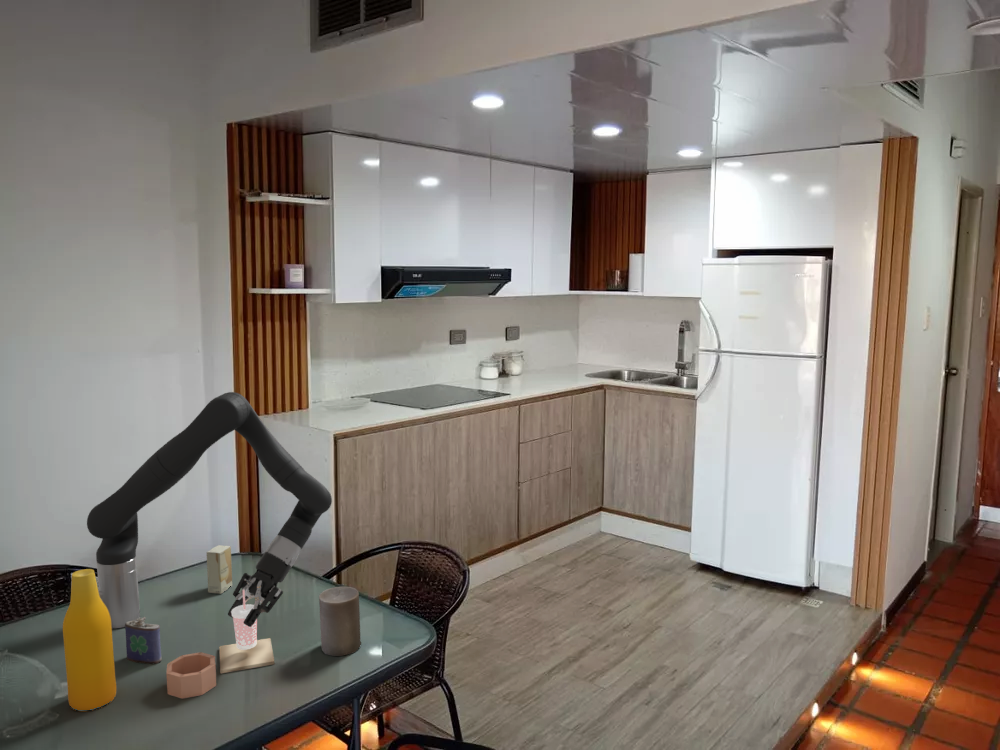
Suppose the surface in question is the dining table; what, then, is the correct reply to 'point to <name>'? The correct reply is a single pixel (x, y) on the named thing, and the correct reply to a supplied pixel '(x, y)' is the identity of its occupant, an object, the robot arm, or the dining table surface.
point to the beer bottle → (88, 645)
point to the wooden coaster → (246, 656)
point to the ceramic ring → (191, 675)
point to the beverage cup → (244, 626)
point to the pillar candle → (339, 621)
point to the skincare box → (219, 569)
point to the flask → (143, 642)
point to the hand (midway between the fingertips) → (238, 620)
